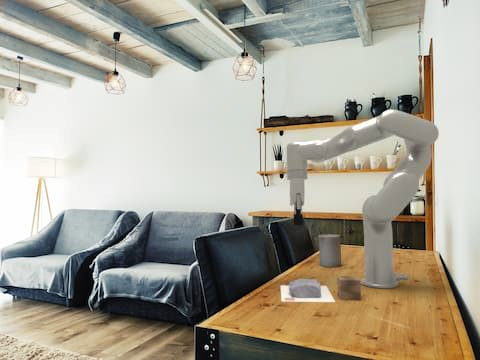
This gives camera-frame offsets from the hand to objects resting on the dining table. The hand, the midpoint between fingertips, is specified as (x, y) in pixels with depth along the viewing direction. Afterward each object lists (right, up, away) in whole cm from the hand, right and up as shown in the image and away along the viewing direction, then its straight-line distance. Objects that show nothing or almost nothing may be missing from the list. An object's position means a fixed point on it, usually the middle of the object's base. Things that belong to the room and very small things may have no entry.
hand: (298, 224), depth 138 cm
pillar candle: (+19, -22, +31) cm, 43 cm away
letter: (0, -20, -16) cm, 26 cm away
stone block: (-1, -21, -16) cm, 26 cm away
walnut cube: (+13, -20, -21) cm, 32 cm away
